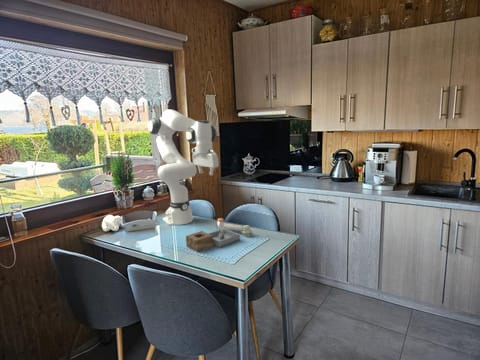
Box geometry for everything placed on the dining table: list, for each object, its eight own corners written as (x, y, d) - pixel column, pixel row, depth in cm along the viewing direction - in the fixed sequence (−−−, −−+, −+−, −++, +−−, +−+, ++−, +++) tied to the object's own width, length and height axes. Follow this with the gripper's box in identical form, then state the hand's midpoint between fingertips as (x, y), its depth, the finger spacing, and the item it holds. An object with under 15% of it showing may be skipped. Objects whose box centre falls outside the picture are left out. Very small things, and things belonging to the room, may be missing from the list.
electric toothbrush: (220, 221, 192) (253, 223, 176) (222, 231, 193) (254, 234, 176) (215, 223, 188) (247, 225, 172) (216, 234, 189) (249, 237, 172)
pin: (217, 238, 171) (216, 219, 169) (222, 237, 173) (221, 217, 171) (221, 240, 168) (220, 220, 166) (225, 238, 170) (224, 219, 168)
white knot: (97, 233, 191) (95, 219, 189) (109, 226, 202) (107, 213, 201) (113, 233, 188) (112, 219, 187) (124, 227, 200) (123, 213, 198)
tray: (203, 240, 171) (203, 234, 171) (223, 234, 180) (223, 228, 180) (219, 247, 161) (219, 241, 160) (239, 240, 170) (239, 234, 169)
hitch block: (186, 246, 164) (185, 235, 163) (202, 241, 171) (201, 230, 170) (197, 252, 157) (196, 240, 156) (213, 246, 163) (212, 235, 162)
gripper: (220, 150, 167) (221, 175, 170) (199, 148, 183) (200, 171, 185) (211, 151, 163) (212, 177, 166) (190, 149, 179) (191, 173, 181)
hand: (206, 174), depth 176 cm, fingers open, 8 cm apart
